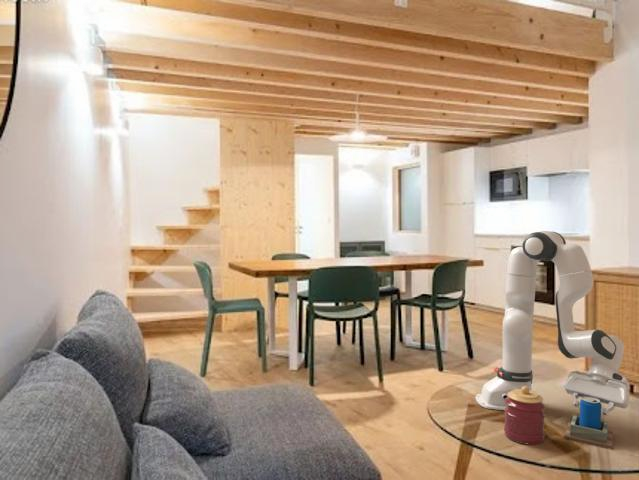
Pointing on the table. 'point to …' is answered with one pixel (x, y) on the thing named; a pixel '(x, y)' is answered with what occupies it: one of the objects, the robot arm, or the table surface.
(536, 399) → the canister
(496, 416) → the table surface
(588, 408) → the beverage can
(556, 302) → the robot arm
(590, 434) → the cradle
